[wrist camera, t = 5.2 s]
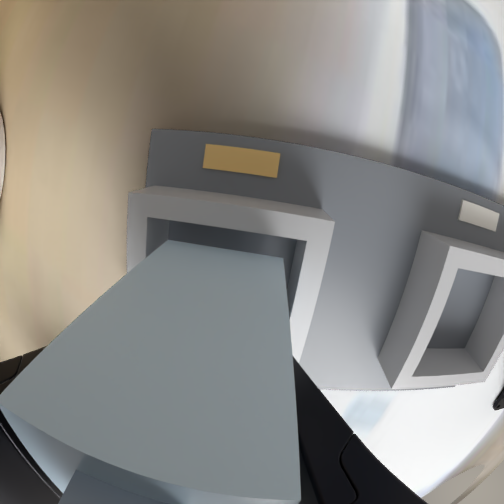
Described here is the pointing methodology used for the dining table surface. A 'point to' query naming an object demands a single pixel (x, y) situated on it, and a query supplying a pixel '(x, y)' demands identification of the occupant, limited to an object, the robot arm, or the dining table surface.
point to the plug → (169, 387)
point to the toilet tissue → (2, 153)
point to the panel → (341, 253)
